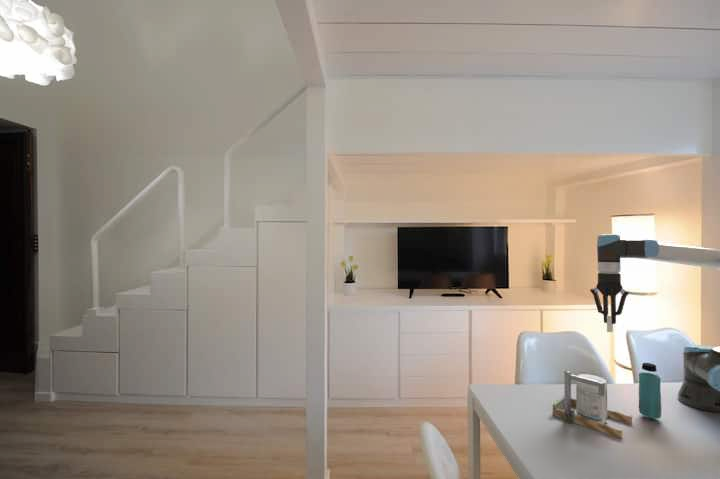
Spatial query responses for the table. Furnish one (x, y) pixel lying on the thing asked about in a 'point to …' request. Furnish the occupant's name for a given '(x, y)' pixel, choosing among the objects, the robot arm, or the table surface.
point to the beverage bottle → (649, 392)
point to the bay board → (607, 429)
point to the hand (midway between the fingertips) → (610, 331)
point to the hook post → (567, 391)
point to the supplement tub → (591, 400)
